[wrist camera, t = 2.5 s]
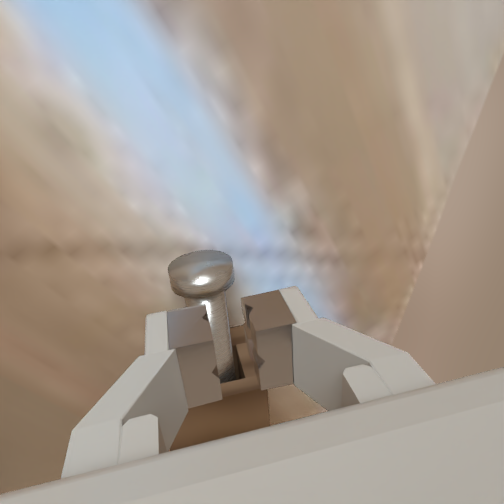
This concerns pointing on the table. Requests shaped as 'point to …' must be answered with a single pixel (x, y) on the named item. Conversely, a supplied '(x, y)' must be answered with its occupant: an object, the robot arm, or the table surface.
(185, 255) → the pin
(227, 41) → the table surface
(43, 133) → the table surface
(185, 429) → the hitch block
